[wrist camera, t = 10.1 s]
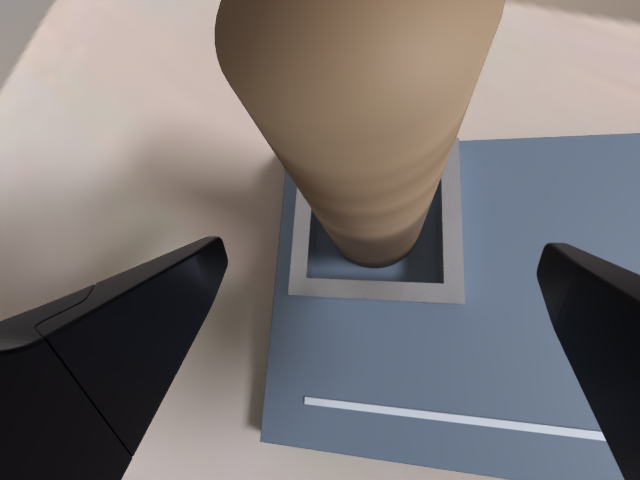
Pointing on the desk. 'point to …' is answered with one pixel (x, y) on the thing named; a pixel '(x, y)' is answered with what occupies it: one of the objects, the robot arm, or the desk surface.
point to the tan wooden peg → (359, 103)
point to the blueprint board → (460, 325)
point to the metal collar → (386, 291)
